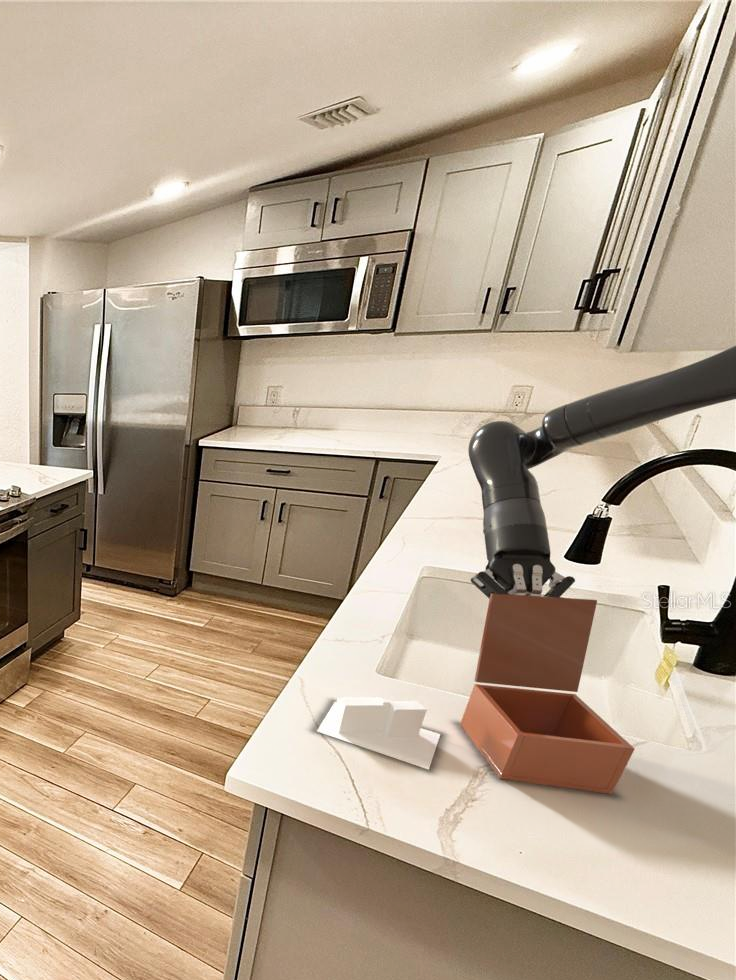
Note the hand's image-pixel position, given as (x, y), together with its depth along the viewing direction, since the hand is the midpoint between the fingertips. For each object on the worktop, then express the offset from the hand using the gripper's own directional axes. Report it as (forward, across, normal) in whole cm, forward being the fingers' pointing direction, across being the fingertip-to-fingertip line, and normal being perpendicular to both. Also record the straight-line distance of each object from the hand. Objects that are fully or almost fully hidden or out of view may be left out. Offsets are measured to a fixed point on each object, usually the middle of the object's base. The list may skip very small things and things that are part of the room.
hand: (528, 631), depth 95 cm
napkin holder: (+18, -19, +4) cm, 27 cm away
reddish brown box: (+19, 0, +4) cm, 19 cm away
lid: (+2, 0, -1) cm, 3 cm away
